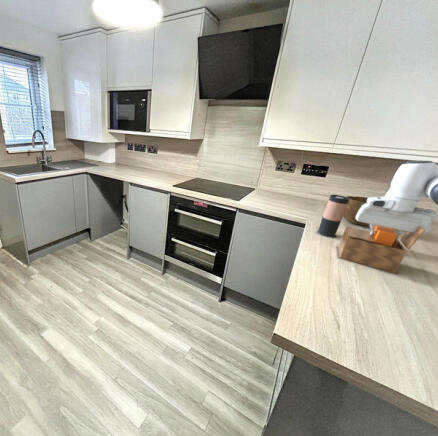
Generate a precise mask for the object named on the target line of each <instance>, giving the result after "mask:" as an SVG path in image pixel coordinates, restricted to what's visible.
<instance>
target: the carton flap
mask: <svg viewBox="0 0 438 436" xmlns="http://www.w3.org/2000/svg"><path fill="white" fill-rule="evenodd" d="M424 231H425V230H424V229H423V228H422V227H421V226H419V227H418V229H417V230H416V231H415V232H414V233H411V232H407V231H406V233H405V234H404V235H402V236H401V237H399V238H398V240H399V241H400V243H401V244H402V245H403V247H404V248H405V249H406V251H407V250H408V251H409V250H411V248H412V247H413V245H415V243H416V242H417V241H418V240H419V239H420V238H421V236H423V235H422V234H423V233H424Z"/></svg>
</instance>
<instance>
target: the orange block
mask: <svg viewBox="0 0 438 436" xmlns="http://www.w3.org/2000/svg"><path fill="white" fill-rule="evenodd" d="M373 229H374V228H373ZM374 231H376V232H377V233H376V235H375V236H374V238H375V240H376V243H377V244H382V245H386V246H390V247H392V245H393V243H394V241H395V239H396V237H397V234H398V233H396V231H395V229H391V228H386V227H381V226H377V225H376V227H375V229H374Z"/></svg>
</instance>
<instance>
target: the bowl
mask: <svg viewBox="0 0 438 436" xmlns="http://www.w3.org/2000/svg"><path fill="white" fill-rule="evenodd" d="M346 197H348V198H349V202H348V204H347V207H346V210H345V212H344V215H343V219H344V220H346V221H348V222H350V223H352V224H355V225H359V226H366V225H367V226H368V225H369V224H368V223H363V222H359V221H357V220H356V215H357V213H358V211H359V209H360V208H361V206H362V205H363V204H365V203H367V199H368V198H369V197H367V196H355V195H354V196H353V195H347V196H346Z"/></svg>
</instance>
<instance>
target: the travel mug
mask: <svg viewBox="0 0 438 436" xmlns="http://www.w3.org/2000/svg"><path fill="white" fill-rule="evenodd" d="M348 202H349V198H348V197H347V196H345V195H340V194H330V195H329V199H328V201H327V203H326V206H325V209H324V212H323V215H322V217H321V220H320V224H319V227H318V230H317V233H318V234H319V235H321V236H323V237H327V238H334V237H335V236H336V234H337V232H338V229H339V227H340V225H341V222H342V220H343V219H344V217H343V215H344V212H345V210H346V207H347V204H348Z"/></svg>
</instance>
